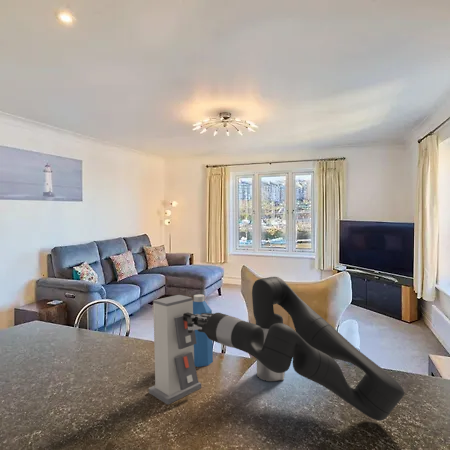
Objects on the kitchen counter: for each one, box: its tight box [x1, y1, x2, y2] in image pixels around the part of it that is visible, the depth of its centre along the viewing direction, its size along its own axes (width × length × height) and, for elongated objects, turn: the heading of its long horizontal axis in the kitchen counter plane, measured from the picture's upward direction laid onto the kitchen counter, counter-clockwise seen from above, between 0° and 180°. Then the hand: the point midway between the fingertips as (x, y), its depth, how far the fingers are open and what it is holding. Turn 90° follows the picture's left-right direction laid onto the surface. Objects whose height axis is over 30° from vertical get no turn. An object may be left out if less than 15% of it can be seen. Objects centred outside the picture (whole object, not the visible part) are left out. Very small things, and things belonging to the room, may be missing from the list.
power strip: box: [148, 294, 202, 405], centre depth 104 cm, size 10×13×29 cm
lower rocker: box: [174, 352, 199, 390], centre depth 100 cm, size 1×6×9 cm, turn 136°
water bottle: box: [193, 293, 214, 368], centre depth 125 cm, size 9×9×25 cm
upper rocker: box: [174, 316, 197, 349], centre depth 100 cm, size 2×6×9 cm, turn 136°
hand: (185, 316), depth 100 cm, fingers closed
